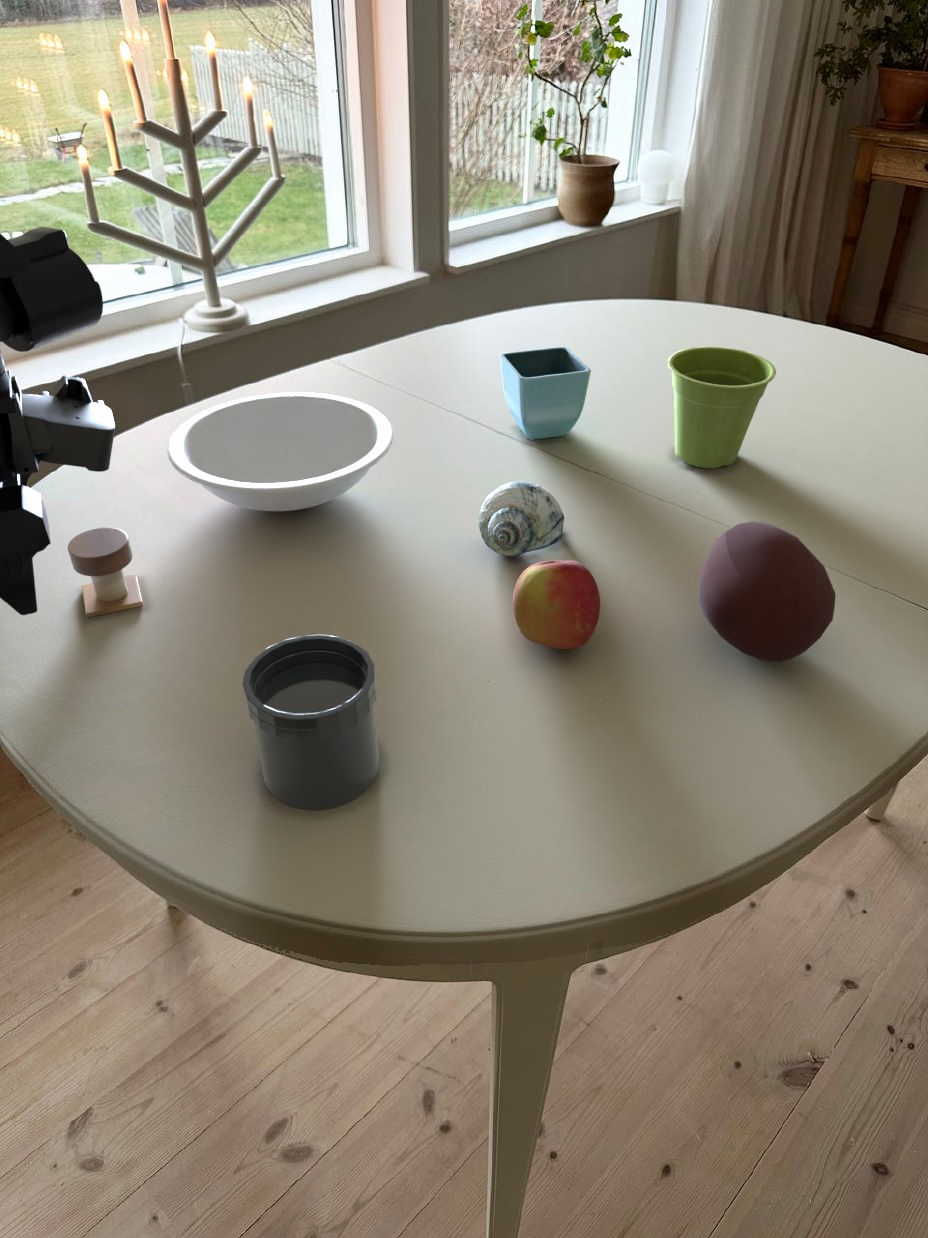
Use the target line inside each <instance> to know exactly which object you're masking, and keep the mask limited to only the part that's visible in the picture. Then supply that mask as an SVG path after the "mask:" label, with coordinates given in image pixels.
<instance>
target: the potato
mask: <svg viewBox="0 0 928 1238" xmlns="http://www.w3.org/2000/svg"><path fill="white" fill-rule="evenodd" d="M836 596H837V595H836V592H835V589H834V586H833V584H832V582H831V579H830V577H829V574H828V572H827V570H826V567H825V565H823V563H822V562H821V561H820V560H819V559H818V558H817V557H816V556H815V555H814V554H813V553H812V552H811V550H810V549H809V548H808V547H807V546H806V544H804V543H803V542H802V541H801V539H799V538H798V537H797V536H795V535H794V534H792V533H790V532H788V531H787V530H784V529H783V528H780V527H778V526H775V525H773V524H771V523H766V522H760V521H754V520H753V521H748V522H741V523H738V524H736V525H734V526H732V527H730V528H729V529H728V530H727V529H726V531H724V532H723V533H722V534H720V535H719V536H717V537H716V538H715V539H714V541H713V544H712V546H711V548H710V550H709V552H708V554H707V556H706V558H705V560H704V563H703V564H702V566H701V568H700V571H699V572H698V599H699V600H698V601H699V602H698V603H699V606H700V609H701V611H702V614H703V616H704V618H705V619H706V620H707V622H708V623H709V624H710V625H711V626H712V628H713V629H714V630H715V632H716V633H717V634H718V635H719V636H720V637H721V638H722V639H723V640H725V641H726V642H727V643H729V644H730V645H731V646H732V647H734V648H735V649H737V650H738V651H740V652H741V653H743V654H745V655H747V656H749V657H752V658H754V659H756V660H759V661H763V662H771V663H780V662H786V661H789V660H792V659H795V658H796V657H798V656H800V655H802V654H804V653H805V652H806V651H808V649H810V648H811V647H812V646H813V645H814V644H815V643H817V642H818V641H819V640H820V639H821V638H822V636H823V635H824V633H825V632H826V630H828V629H827V628H828V627H829V626H830V624H831V623H832V622H833V620H834V615H835V607H836Z"/></svg>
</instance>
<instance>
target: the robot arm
mask: <svg viewBox="0 0 928 1238" xmlns="http://www.w3.org/2000/svg"><path fill="white" fill-rule="evenodd" d="M103 309H104V299H103V292H102V289H101V285H100V283H99V282H98V281H97V280H96V279H95V277H94V275H93V273H92V271H91V270H90V268H89V267H88V265H87V264H86V262H85V261H84V260H83V259H82V257H81V256H80V255H79V254H78V253H77V252H75V251H74V250H73V249H71V248H70V246H69V243H68V238H67V234H66V231H64V230H63V229H60V228H59V229H58V228H54V227H48V226H40V227H36V228H33V229H29V230H27V231H26V232H25V233H23V234H21V235H19V236H16V237H12V238H9V239H7V238H6V237H5V236H4V235H2V233H0V343H3V344H5V346H7V347H8V348H10V349H11V350H14V351H16V352H20V353H23V352H24V353H25V352H26V353H27V352H29V351H33V350H34V349H37V348H39V347H42V346H45V345H47V344H50V343H53V342H56V341H58V340H61V339H64V338H65V337H66V338H67V337H68V336H71V335H74V334H77V333H79V332H82V331H85V330H87V329H90V328H92V327H94V326H96V325H97V324H98V323H99V321H100V320H101V318H102V315H103V311H104V310H103ZM5 364H6V363H5V360H4V358H3V355H2V351H1V350H0V600H2V601H4V602H5V604H7V606H9V607H11V608H12V609H13V610H14V611H15V612H17V613H18V614H19V615H21V616H28V615H32V614H35V613H37V612H38V603H37V602H38V600H37V590H36V589H37V588H36V579H35V571H34V557H35V556H36V555H37V553H40V552H42V551H44V550H46V549H47V547H48V546H49V545H51V544H52V542H51V533H50V523H49V519H48V516H47V511H46V506H45V504H44V501H43V498H42V494H41V493H39V492H38V491H36V490H34V489H32V488H30V487H29V486H28V485H29V484H28V482H29V479H30V477H31V476H32V474H34V473H39V464H40V463H41V462H45V463H49V464H55V465H64V466H70V467H71V466H72V467H78V468H85V469H87V471H89V472H95V473H97V472H98V473H101V472H106V471H108V470H109V469H110V465H111V458H112V451H113V444H114V438H115V431H116V424H115V420H114V416H113V411H112V409H111V408H110V407H108V406H107V405H105V403H104V400H100V399H97V401H96V402H93V398H92V395H91V392H90V390H89V388H88V385H87V383H86V380H85V379H84V378H82V377H76V376H72V375H71V376H70V375H62V376H61V377H60V378H59V380H58V381H57V382H56V384H55V385H54V387H52V389H51V390H50V392H48V391H47V390H41V395H39V394H31V393H23V392H22V390H21V386H20V383H19V379H18V377H17V376H16V375H12V373H11V370H7V367H6V365H5Z"/></svg>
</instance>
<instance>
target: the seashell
mask: <svg viewBox="0 0 928 1238" xmlns="http://www.w3.org/2000/svg"><path fill="white" fill-rule="evenodd" d="M564 523H565V515H564V513H563V510H562V507H561V505H560V503H559V501H558V500H557V499H556V497H555V496H554V495H553V493H552V492H551V491H549V490H548V489H547V488H545V487H543V486H542V485H539V484H537V483H535V482H530V481H524V480H519V481H511V482H508V483H505V484H503V485H500V486H499V487H497V488H496V489H494V490H493V491H492V492H491V493H489V494H488V495H487V496H486V497H485V499H484V501H483V504H482V505H481V507H480V510H479V513H478V529H479V532H480V535H481V538H482V540H483V542H484V544H485V545H486V546H487V547H488V548H489V549H490V550H491V551H493V552H495V553H496V554H498V555H500V556H503V557H518V556H520V555H524V554H526V553H530V552H533V551H537V550H542V549H546V548H548V547H551V546H553V545H555V544H557V543H558V542H560V541H561V540H562V539H563V533H564V525H565V524H564Z"/></svg>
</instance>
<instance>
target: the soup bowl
mask: <svg viewBox="0 0 928 1238" xmlns="http://www.w3.org/2000/svg"><path fill="white" fill-rule="evenodd" d="M393 441H394V431H393V428H392V425H391V423H390V421H389V420H388V418H387V417H386V416H384V415H383V413H381V412H380V411H378V410H377V409H376V408H374V407H372V406H370V405H368V404H367V403H363V402H361V401H359V400H355V399H352V398H348V397H344V396H339V395H334V394H328V393H316V392H278V393H267V394H261V395H260V394H259V395H253V396H248V397H244V398H243V397H242V398H239V399H234V400H231V401H228V402H224V403H221V404H218V405H215V406H213V407H210V408H208V409H205V410H203V411H201V412H199V413H197V414H195V415H193V416H192V417H190V418H189V419H187V420H186V421H185V422H183V423H182V424H181V425H180V426H179V427H177V428H176V430H175V431H174V432H173V433H172V434H171V436H170V438H169V440H168V442H167V448H166V450H167V451H166V453H167V458H168V460H169V462H170V464H171V466H172V467H173V468H174V469H175V470H176V471H177V472H178V473H179V474H180V475H181V476H183V477H185V478H186V479H188V480H190V481H192V482H194V483H197V484H199V485H201V487H203V488H204V489H206V490H207V491H208V492H210V493H211V494H213V495H214V496H216V497H217V498H219V499H221V500H223V501H225V502H228V503H230V504H232V505H235V506H238V507H242V508H245V509H250V510H254V511H262V512H290V511H299V510H304V509H305V510H306V509H309V508H313V507H316V506H319V505H323V504H325V503H327V502H330V501H332V500H334V499H336V498H338V497H340V496H342V495H344V494H345V493H346V492H347V491H349V490H350V489H352V488H353V487H355V485H357V484H358V483H359V482H360V481H361V480H362V479H363V478H364V477H365V476H366V474H367V473H368V472H369V470H370V469H371V468H372V467H373V466H375V465H376V464H378V462H380V461H381V460H382V459H383V458H384V457H386V455H387V453H388V452H389V451H390V450H391V449H390V448H391V446H392V444H393Z"/></svg>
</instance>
